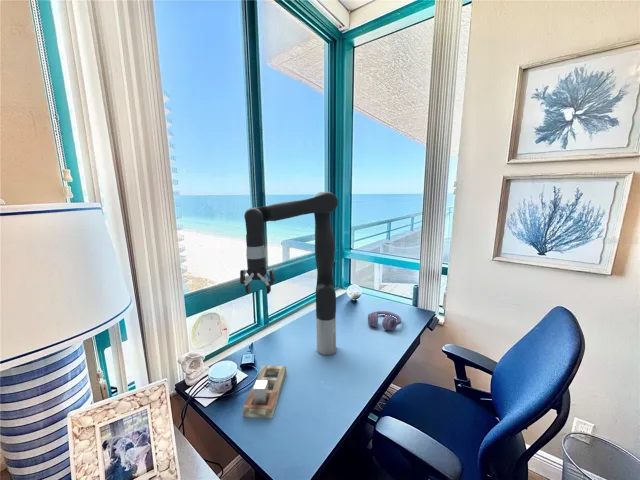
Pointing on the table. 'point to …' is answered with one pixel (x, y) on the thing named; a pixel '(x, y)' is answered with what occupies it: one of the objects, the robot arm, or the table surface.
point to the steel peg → (261, 392)
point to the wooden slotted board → (276, 383)
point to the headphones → (384, 320)
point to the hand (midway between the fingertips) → (258, 293)
